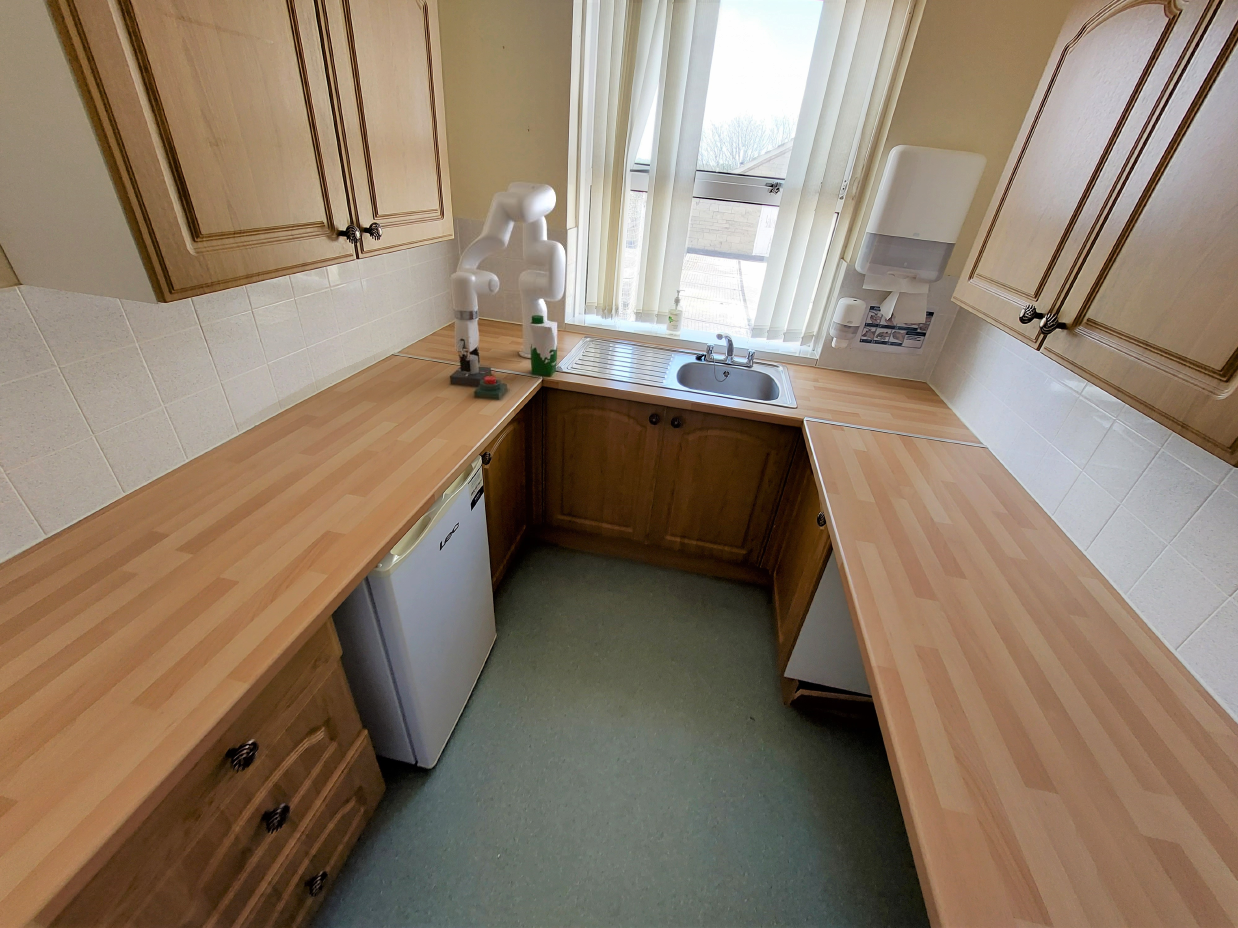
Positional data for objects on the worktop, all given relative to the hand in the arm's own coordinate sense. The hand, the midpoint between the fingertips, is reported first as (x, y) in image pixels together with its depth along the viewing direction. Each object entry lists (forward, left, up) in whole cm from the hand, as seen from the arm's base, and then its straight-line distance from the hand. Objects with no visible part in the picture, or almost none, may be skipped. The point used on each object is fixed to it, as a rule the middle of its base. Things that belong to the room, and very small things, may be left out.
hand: (470, 366), depth 163 cm
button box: (+10, +10, -5) cm, 15 cm away
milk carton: (-14, +22, -5) cm, 27 cm away
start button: (+10, +10, -1) cm, 14 cm away
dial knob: (0, 0, -2) cm, 2 cm away
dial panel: (0, 0, -5) cm, 5 cm away
